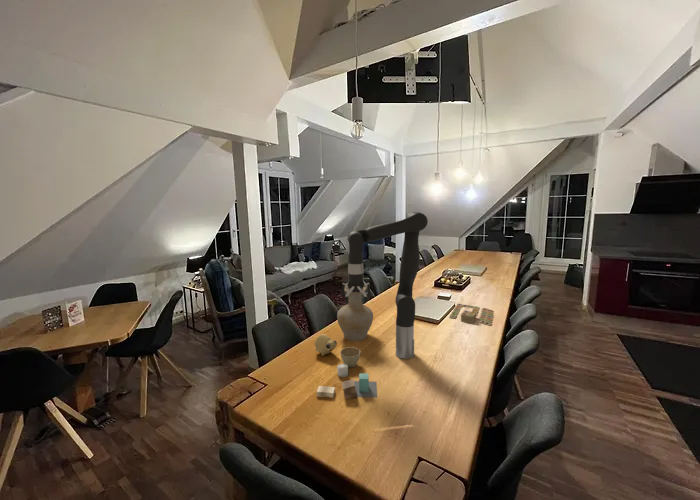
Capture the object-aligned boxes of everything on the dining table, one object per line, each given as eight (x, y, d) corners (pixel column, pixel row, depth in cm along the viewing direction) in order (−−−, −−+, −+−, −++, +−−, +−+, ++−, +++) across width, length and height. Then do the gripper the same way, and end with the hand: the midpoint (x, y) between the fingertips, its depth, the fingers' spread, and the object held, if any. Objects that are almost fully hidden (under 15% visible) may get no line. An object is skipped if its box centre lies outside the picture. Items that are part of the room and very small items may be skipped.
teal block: (368, 386, 131) (368, 373, 130) (368, 391, 127) (368, 378, 126) (359, 386, 131) (359, 373, 130) (359, 391, 127) (359, 378, 126)
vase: (331, 340, 176) (330, 291, 171) (345, 326, 196) (344, 282, 191) (366, 346, 167) (366, 295, 163) (377, 331, 187) (377, 285, 183)
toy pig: (327, 361, 153) (326, 341, 152) (311, 353, 161) (310, 335, 159) (340, 353, 161) (339, 335, 159) (324, 346, 168) (324, 329, 167)
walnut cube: (355, 389, 128) (353, 379, 127) (357, 396, 123) (354, 385, 122) (344, 392, 127) (341, 382, 127) (345, 400, 122) (342, 389, 122)
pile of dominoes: (491, 327, 192) (492, 319, 191) (448, 320, 205) (448, 312, 204) (495, 310, 222) (495, 303, 221) (457, 304, 235) (457, 298, 234)
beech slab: (335, 393, 127) (335, 387, 127) (333, 399, 124) (333, 393, 123) (319, 392, 129) (319, 385, 128) (316, 398, 125) (316, 391, 124)
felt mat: (376, 382, 134) (376, 381, 134) (377, 398, 123) (377, 397, 123) (352, 382, 135) (352, 381, 135) (350, 398, 124) (350, 396, 124)
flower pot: (363, 361, 152) (362, 348, 151) (357, 372, 143) (356, 358, 142) (344, 358, 155) (344, 345, 154) (337, 368, 146) (337, 355, 145)
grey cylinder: (336, 373, 142) (335, 365, 142) (346, 371, 144) (345, 363, 143) (339, 378, 137) (339, 369, 137) (350, 375, 139) (349, 366, 139)
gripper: (370, 270, 151) (370, 301, 153) (342, 270, 152) (342, 301, 154) (370, 273, 143) (370, 306, 146) (340, 273, 144) (341, 306, 147)
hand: (356, 303), depth 150 cm, fingers open, 8 cm apart
